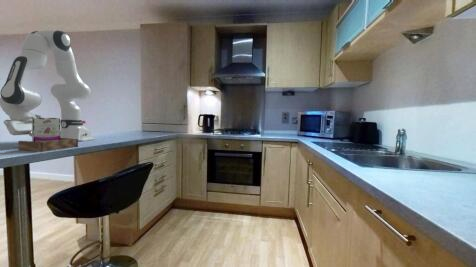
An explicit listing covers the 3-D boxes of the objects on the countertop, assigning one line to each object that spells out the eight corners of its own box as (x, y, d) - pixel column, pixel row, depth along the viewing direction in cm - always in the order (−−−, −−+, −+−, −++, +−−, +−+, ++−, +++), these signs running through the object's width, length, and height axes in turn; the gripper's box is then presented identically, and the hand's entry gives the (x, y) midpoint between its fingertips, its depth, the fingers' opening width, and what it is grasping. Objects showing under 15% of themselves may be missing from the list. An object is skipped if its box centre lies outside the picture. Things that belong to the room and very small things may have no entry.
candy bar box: (58, 147, 130) (58, 117, 129) (60, 148, 127) (60, 118, 125) (31, 149, 121) (31, 117, 120) (33, 150, 118) (33, 117, 117)
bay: (58, 145, 138) (58, 137, 138) (77, 146, 136) (77, 138, 136) (18, 149, 117) (18, 140, 117) (40, 151, 115) (40, 142, 115)
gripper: (5, 115, 118) (22, 136, 117) (45, 116, 138) (59, 133, 137) (-2, 124, 119) (14, 144, 118) (38, 123, 139) (53, 140, 138)
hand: (39, 138), depth 128 cm, fingers closed
